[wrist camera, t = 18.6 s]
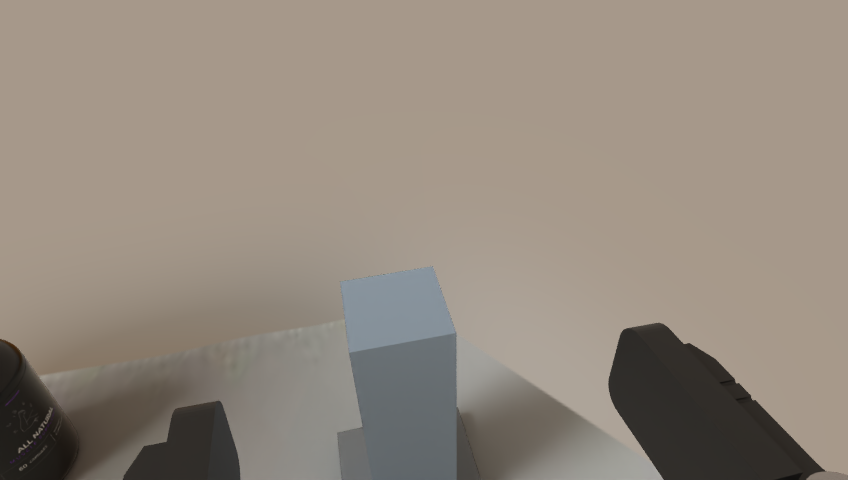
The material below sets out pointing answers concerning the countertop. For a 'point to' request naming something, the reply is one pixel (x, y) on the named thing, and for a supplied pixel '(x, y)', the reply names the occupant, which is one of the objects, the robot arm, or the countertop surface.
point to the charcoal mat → (357, 460)
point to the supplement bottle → (31, 423)
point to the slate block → (404, 373)
